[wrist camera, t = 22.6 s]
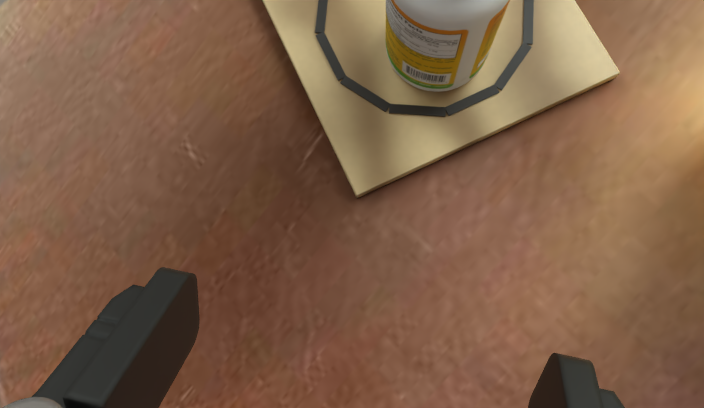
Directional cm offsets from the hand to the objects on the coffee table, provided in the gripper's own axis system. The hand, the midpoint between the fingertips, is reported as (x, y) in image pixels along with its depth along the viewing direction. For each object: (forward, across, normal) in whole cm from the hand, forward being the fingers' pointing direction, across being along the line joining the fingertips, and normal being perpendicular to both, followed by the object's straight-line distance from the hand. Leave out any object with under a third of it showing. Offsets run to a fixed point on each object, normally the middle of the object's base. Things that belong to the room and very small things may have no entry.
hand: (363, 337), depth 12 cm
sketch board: (+22, 0, -1) cm, 22 cm away
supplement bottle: (+20, 0, 0) cm, 21 cm away
